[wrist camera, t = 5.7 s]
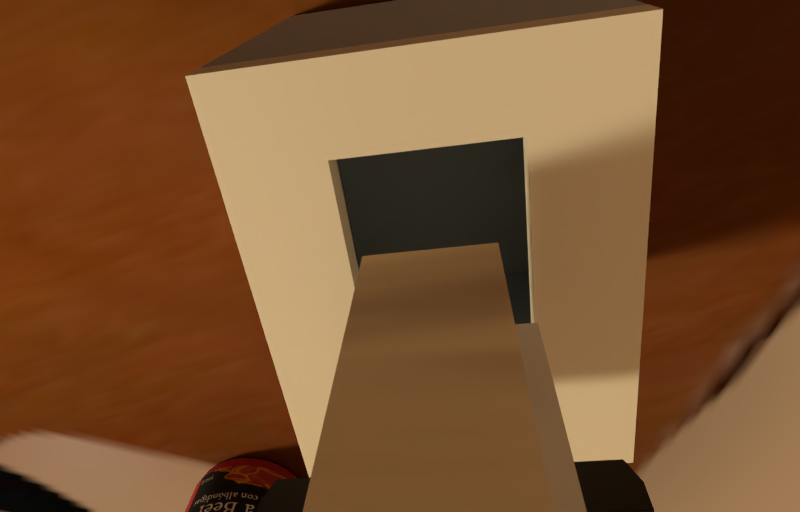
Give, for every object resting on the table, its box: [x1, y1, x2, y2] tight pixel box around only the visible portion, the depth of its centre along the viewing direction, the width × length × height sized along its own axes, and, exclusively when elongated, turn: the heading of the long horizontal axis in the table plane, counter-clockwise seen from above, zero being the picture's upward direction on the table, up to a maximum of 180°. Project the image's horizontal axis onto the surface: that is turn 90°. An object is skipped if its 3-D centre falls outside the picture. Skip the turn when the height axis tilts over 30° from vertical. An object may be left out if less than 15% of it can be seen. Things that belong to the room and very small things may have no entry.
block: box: [303, 243, 554, 512], centre depth 11 cm, size 7×3×7 cm, turn 8°
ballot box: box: [185, 0, 663, 477], centre depth 22 cm, size 14×11×12 cm
